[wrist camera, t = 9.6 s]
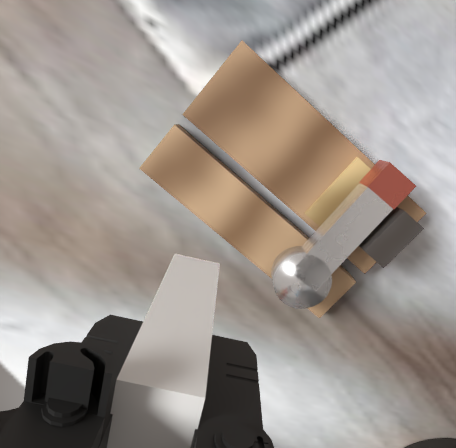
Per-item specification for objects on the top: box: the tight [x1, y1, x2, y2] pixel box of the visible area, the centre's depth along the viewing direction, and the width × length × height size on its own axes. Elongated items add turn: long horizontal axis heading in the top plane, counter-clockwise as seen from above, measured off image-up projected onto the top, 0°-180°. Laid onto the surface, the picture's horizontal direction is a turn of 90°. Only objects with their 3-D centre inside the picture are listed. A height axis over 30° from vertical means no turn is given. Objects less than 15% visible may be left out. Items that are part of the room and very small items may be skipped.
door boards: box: [139, 41, 426, 318], centre depth 32 cm, size 20×12×6 cm, turn 49°
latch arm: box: [271, 160, 416, 309], centre depth 30 cm, size 13×4×2 cm, turn 141°
